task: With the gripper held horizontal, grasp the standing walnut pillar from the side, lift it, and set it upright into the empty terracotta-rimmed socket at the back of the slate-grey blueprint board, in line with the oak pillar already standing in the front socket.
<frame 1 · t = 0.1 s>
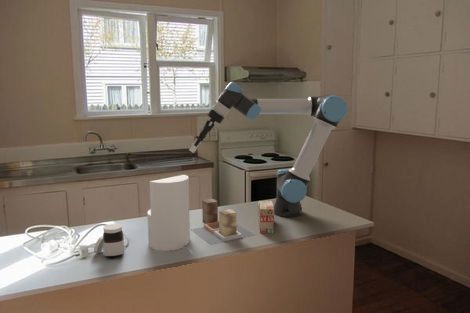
hand: (192, 149, 188), 36 cm above the counter, tool tilted 35°, fingers open, 13 cm apart
oak pillar: (227, 235, 174), point 1 cm above the counter, touching blueprint board
walnut pillar: (210, 222, 193), on the counter
cylinder: (169, 242, 169), on the counter
spread jar: (109, 255, 156), on the counter
blueprint board: (222, 233, 178), on the counter
stack of blocks: (265, 227, 188), on the counter
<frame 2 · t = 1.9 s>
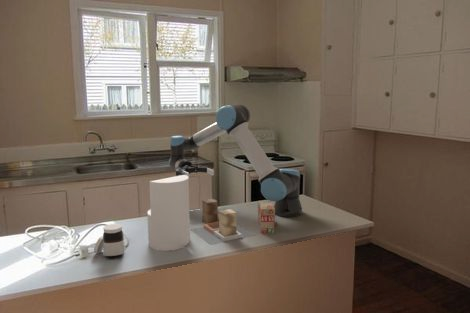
hand: (201, 174, 198), 22 cm above the counter, tool horizontal, fingers open, 13 cm apart
nothing on the counter moved.
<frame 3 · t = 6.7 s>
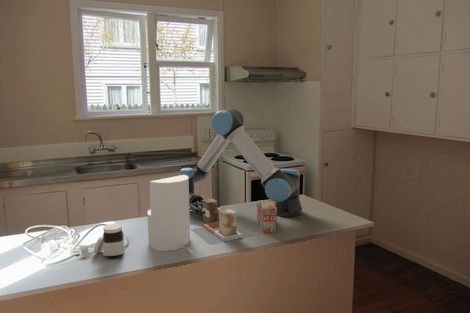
hand: (214, 213, 188), 6 cm above the counter, tool horizontal, fingers closed on walnut pillar, 5 cm apart
walnut pillar: (210, 222, 193), on the counter, touching gripper
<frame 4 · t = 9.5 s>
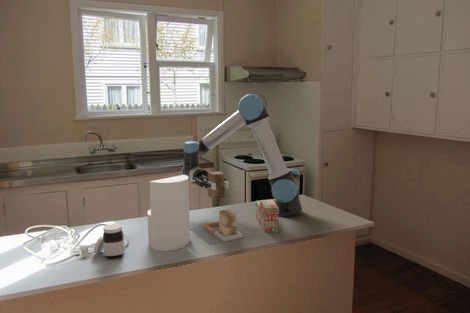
hand: (221, 186, 175), 22 cm above the counter, tool horizontal, fingers closed on walnut pillar, 5 cm apart
walnut pillar: (216, 196, 180), point 16 cm above the counter, touching gripper
when the fingers open (8 cm above the counter, at t = 12.4 s): walnut pillar stays where it is, resting on blueprint board.
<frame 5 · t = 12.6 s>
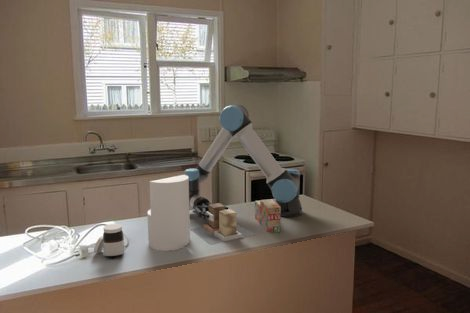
hand: (221, 216, 177), 8 cm above the counter, tool horizontal, fingers open, 8 cm apart
walnut pillar: (216, 228, 183), point 1 cm above the counter, touching blueprint board
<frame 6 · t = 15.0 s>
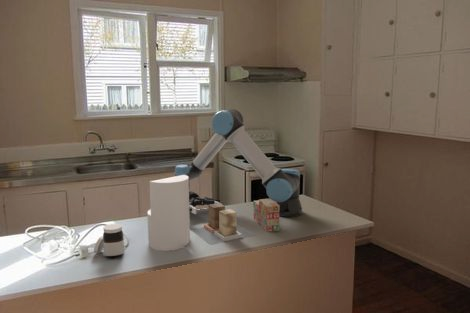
hand: (208, 209, 188), 8 cm above the counter, tool horizontal, fingers open, 13 cm apart
stack of blocks: (265, 225, 190), on the counter, touching arm
everything else where it was.
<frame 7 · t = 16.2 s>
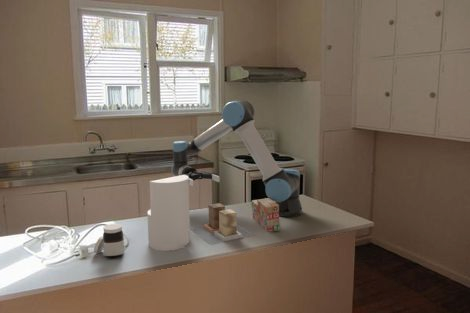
hand: (206, 181, 188), 21 cm above the counter, tool horizontal, fingers open, 13 cm apart
stack of blocks: (265, 224, 190), on the counter
everything else where it was.
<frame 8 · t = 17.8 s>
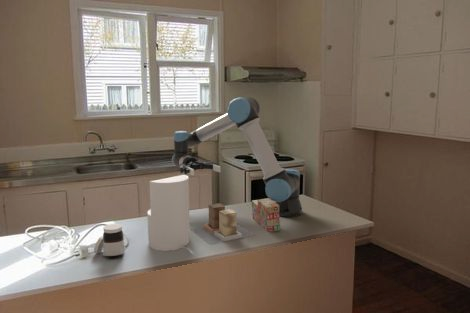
hand: (206, 171, 187), 26 cm above the counter, tool horizontal, fingers open, 13 cm apart
stack of blocks: (265, 224, 190), on the counter, touching arm
everything else where it was.
at the end: walnut pillar 0.0 cm from the target spot on the blueprint board, point 0.8 cm above the blueprint board's base; walnut pillar tilted 0°; oak pillar moved 0.0 cm from its start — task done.
